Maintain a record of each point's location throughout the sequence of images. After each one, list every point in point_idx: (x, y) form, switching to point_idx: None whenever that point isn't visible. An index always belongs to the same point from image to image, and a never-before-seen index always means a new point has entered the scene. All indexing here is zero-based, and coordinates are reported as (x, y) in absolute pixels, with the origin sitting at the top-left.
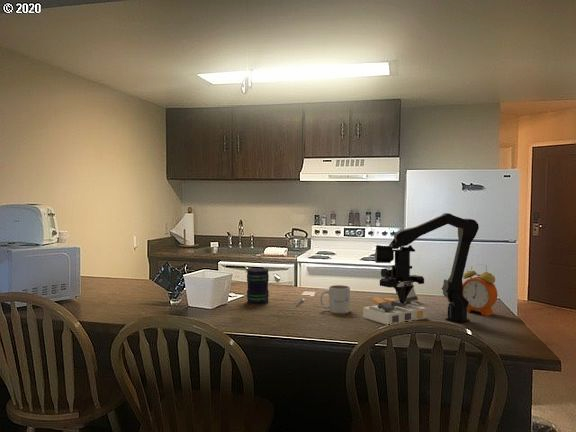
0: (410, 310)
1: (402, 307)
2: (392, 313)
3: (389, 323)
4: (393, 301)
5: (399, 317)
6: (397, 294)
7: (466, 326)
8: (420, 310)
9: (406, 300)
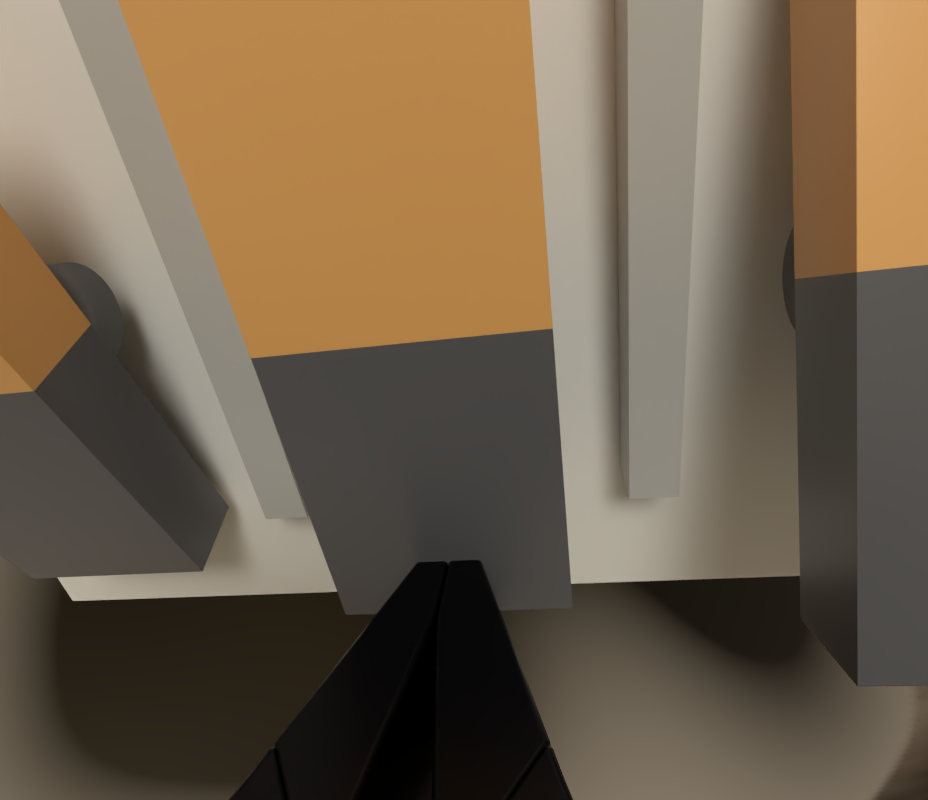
0: (570, 572)
1: (620, 336)
2: (160, 583)
3: None
4: (281, 439)
5: None
6: (261, 759)
7: (895, 797)
8: None
9: (819, 426)
